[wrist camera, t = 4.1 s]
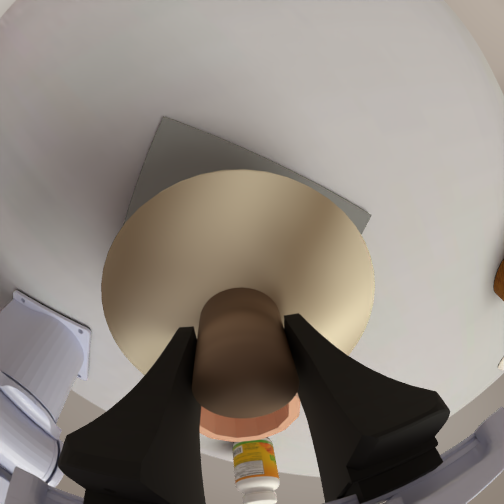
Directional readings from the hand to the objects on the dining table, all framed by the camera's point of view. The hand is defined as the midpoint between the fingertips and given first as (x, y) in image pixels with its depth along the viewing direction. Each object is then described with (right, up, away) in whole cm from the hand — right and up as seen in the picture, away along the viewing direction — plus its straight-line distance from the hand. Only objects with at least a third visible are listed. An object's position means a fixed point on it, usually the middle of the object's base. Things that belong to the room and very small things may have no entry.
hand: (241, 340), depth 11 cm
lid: (0, +1, +2) cm, 2 cm away
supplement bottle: (0, -22, +19) cm, 29 cm away
